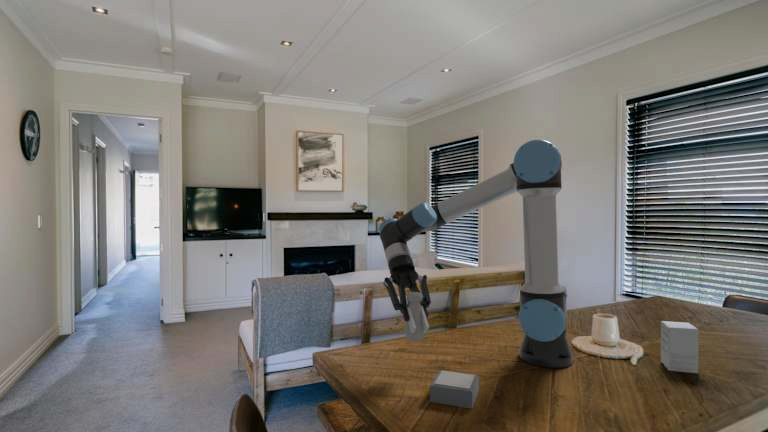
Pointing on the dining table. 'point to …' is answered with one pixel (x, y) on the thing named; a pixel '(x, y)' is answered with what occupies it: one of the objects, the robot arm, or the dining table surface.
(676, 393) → the dining table surface
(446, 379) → the slate plinth
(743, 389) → the dining table surface
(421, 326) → the salt shaker
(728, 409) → the dining table surface
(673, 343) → the supplement box
